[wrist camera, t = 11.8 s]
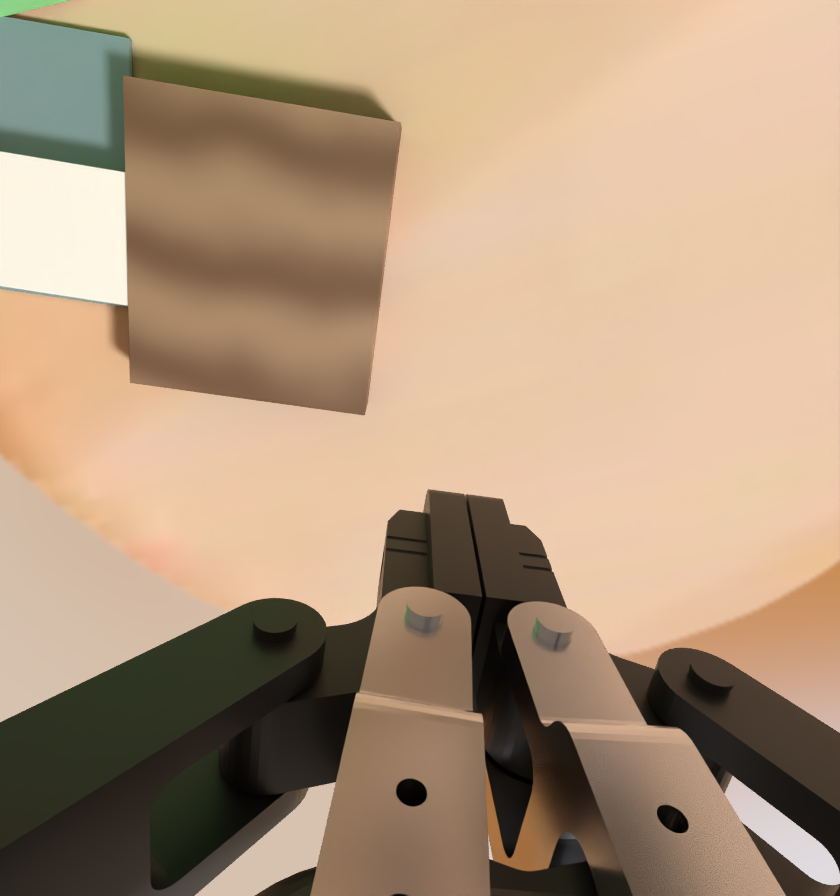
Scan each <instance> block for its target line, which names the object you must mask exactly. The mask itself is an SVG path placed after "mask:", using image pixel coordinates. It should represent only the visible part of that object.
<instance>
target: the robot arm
mask: <svg viewBox="0 0 840 896" xmlns="http://www.w3.org/2000/svg"><path fill="white" fill-rule="evenodd" d="M732 775H733V776H734V777H736V778H737V779H738V780H739V781H741V782H742V783H743V784H745V785H746V786H747V787H748V788H750V789H751V790H753V791H754V792H755V793H756V794H758V795H759V796H761V797H762V798H763V799H764V800H766V801H767V802H768V803H769V804H771V805H772V806H773V807H775V808H776V809H778V810H779V811H780V812H781V813H783V814H784V815H785V816H787V817H788V818H789V819H791V820H792V821H793V822H794V823H796V824H797V825H798V826H800V827H801V828H802V829H804V830H805V831H806V832H807V833H809V834H810V835H812V836H813V837H814V838H816V839H817V840H818V841H819V842H820V843H821V844H822V845H823V846H824V847H825V848H826V849H827V850H828V851H829V852H830V854H831V855H832V857H833V858H834V860H835V861H836V864H837V865H838V868H839V871H840V733H839V732H837V731H836V730H834V729H833V728H831V727H829V726H828V725H826V724H824V723H823V722H821V721H820V720H818V719H817V718H815V717H814V716H812V715H810V714H809V713H807V712H806V711H804V710H802V709H801V708H799V707H798V706H796V705H795V704H793V703H791V702H790V701H788V700H787V699H785V698H784V697H782V696H780V695H779V694H777V693H776V692H774V691H773V690H771V689H769V688H768V687H766V686H765V685H763V684H761V683H760V682H758V681H757V680H755V679H754V678H752V677H750V676H749V675H747V674H746V673H744V672H742V671H741V670H739V669H738V668H736V667H735V666H733V665H732V664H730V663H728V662H726V661H725V660H722V659H721V658H719V657H716V656H714V655H712V654H709V653H706V652H703V651H699V650H695V649H690V648H674V649H669V650H667V651H665V652H664V653H662V654H661V656H660V657H659V659H658V662H657V665H656V668H655V669H652V668H649V667H646V666H643V665H640V664H637V663H634V662H631V661H628V660H625V659H622V658H620V657H617V656H614V655H612V654H610V653H608V652H607V650H606V648H605V646H604V644H603V642H602V640H601V639H600V637H599V635H598V633H597V631H596V630H595V628H594V627H593V626H592V625H591V624H590V623H589V622H588V621H587V620H586V619H585V618H583V617H582V616H580V615H579V614H577V613H576V612H574V611H572V610H570V609H568V608H567V607H566V604H565V602H564V599H563V596H562V594H561V591H560V589H559V586H558V583H557V581H556V578H555V576H554V573H553V572H552V568H551V565H550V562H549V560H548V559H547V555H546V552H545V549H544V547H543V544H542V542H541V540H540V539H539V538H538V537H537V536H536V535H535V534H534V533H533V532H532V531H531V530H529V529H528V528H527V527H526V526H522V525H514V524H510V521H509V518H508V515H507V511H506V508H505V505H504V502H503V500H502V499H498V498H491V497H483V496H475V495H468V494H466V495H464V494H460V493H452V492H444V491H437V490H429V489H428V491H427V495H426V499H425V505H424V511H423V513H421V512H413V511H406V510H399V511H398V512H397V513H396V514H395V515H394V516H393V517H392V518H391V519H390V520H389V521H388V525H387V532H386V538H385V545H384V552H383V559H382V566H381V572H380V579H379V586H378V596H377V607H376V610H375V611H374V612H373V613H371V614H370V615H369V616H367V617H365V618H364V619H362V620H359V621H357V622H353V623H350V624H345V625H338V626H329V627H326V623H325V621H324V619H323V618H322V616H321V615H320V614H319V613H318V612H317V611H316V610H314V609H313V608H311V607H310V606H308V605H306V604H304V603H301V602H298V601H294V600H290V599H283V598H269V599H261V600H256V601H252V602H249V603H247V604H244V605H242V606H240V607H238V608H236V609H234V610H232V611H229V612H227V613H225V614H223V615H221V616H219V617H217V618H215V619H213V620H211V621H209V622H207V623H205V624H203V625H201V626H198V627H196V628H194V629H192V630H190V631H188V632H186V633H184V634H182V635H180V636H178V637H176V638H174V639H172V640H170V641H167V642H166V643H164V644H161V645H159V646H157V647H155V648H153V649H151V650H149V651H147V652H145V653H143V654H141V655H139V656H136V657H134V658H132V659H130V660H128V661H126V662H124V663H122V664H120V665H118V666H116V667H114V668H112V669H110V670H108V671H106V672H103V673H101V674H99V675H97V676H95V677H93V678H91V679H89V680H87V681H85V682H83V683H81V684H79V685H77V686H74V687H72V688H71V689H68V690H66V691H64V692H62V693H60V694H58V695H56V696H54V697H52V698H50V699H48V700H46V701H43V702H42V703H39V704H37V705H35V706H33V707H31V708H29V709H27V710H25V711H23V712H21V713H19V714H17V715H15V716H12V717H10V718H8V719H6V720H4V721H2V722H0V896H194V895H195V894H197V893H198V892H199V891H200V890H201V889H203V888H204V887H205V886H206V885H207V884H208V883H210V882H211V881H212V880H213V879H214V878H215V877H216V876H217V875H219V874H220V873H221V872H222V871H223V870H225V869H226V868H227V867H228V866H229V865H230V864H232V862H234V861H235V860H236V859H237V858H238V857H239V856H241V855H242V854H243V853H244V852H245V851H246V850H248V849H249V848H250V847H251V846H252V845H254V844H255V843H256V842H257V841H258V840H259V839H260V838H262V837H263V836H264V835H265V834H266V833H267V832H268V831H270V830H271V829H272V828H273V827H274V826H276V825H277V824H278V823H279V822H280V821H281V820H282V819H283V818H285V817H286V816H287V815H288V814H289V813H291V812H292V811H293V810H294V809H295V808H296V807H297V806H298V805H299V804H300V803H301V801H302V800H303V799H304V797H305V795H306V793H307V791H308V788H309V787H314V786H319V785H324V784H329V783H333V782H336V784H335V788H334V793H333V797H332V802H331V807H330V811H329V815H328V819H327V824H326V828H325V833H324V837H323V842H322V846H321V850H320V855H319V860H318V864H317V867H314V868H311V869H308V870H304V871H301V872H299V873H296V874H294V875H292V876H290V877H288V878H285V879H283V880H281V881H279V882H277V883H275V884H273V885H271V886H270V887H268V888H266V889H265V890H263V891H262V892H260V893H258V894H257V895H255V896H840V884H838V885H826V884H822V883H820V882H817V881H815V880H814V879H812V878H810V877H809V876H808V875H806V874H805V873H804V872H803V871H801V870H800V869H799V868H798V867H796V866H795V865H794V864H793V863H791V862H790V861H789V860H788V859H786V858H785V857H784V856H783V855H781V854H780V853H779V852H778V851H777V850H775V849H774V848H773V847H772V846H770V845H769V844H767V842H765V841H764V840H763V839H762V838H760V837H759V836H758V835H757V834H756V833H754V832H753V831H752V830H751V829H749V828H748V827H747V826H746V825H744V824H743V823H742V822H741V821H740V819H739V817H738V816H737V814H736V813H735V811H734V809H733V807H732V806H731V804H730V803H729V801H728V799H727V798H726V796H725V794H724V793H725V791H726V789H727V787H728V784H729V782H730V780H731V778H732ZM488 836H489V841H490V846H491V851H492V856H493V860H490V859H489V847H488Z"/></svg>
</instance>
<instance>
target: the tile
mask: <svg viewBox="0 0 840 896" xmlns="http://www.w3.org/2000/svg"><path fill="white" fill-rule="evenodd" d="M0 286H3V287H10V288H16V289H23V290H29V291H36V292H42V293H49V294H55V295H62V296H68V297H75V298H81V299H88V300H94V301H101V302H107V303H114V304H120V305H127V306H128V270H127V226H126V181H125V172H123V171H117V170H111V169H105V168H99V167H93V166H87V165H81V164H75V163H69V162H63V161H57V160H52V159H46V158H40V157H34V156H28V155H22V154H16V153H10V152H4V151H0Z"/></svg>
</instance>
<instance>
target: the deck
mask: <svg viewBox="0 0 840 896" xmlns="http://www.w3.org/2000/svg"><path fill="white" fill-rule="evenodd" d="M123 91H124V136H125V181H126V226H127V270H128V315H129V360H130V383H136V384H143V385H150V386H157V387H165V388H172V389H179V390H186V391H193V392H201V393H208V394H215V395H222V396H229V397H236V398H244V399H251V400H258V401H265V402H272V403H280V404H287V405H294V406H301V407H308V408H316V409H323V410H330V411H337V412H344V413H352V414H359V415H365V411H366V407H367V403H368V395H369V387H370V379H371V371H372V363H373V355H374V347H375V339H376V331H377V323H378V314H379V306H380V298H381V290H382V282H383V274H384V266H385V258H386V250H387V242H388V234H389V225H390V217H391V209H392V201H393V193H394V185H395V177H396V169H397V161H398V153H399V145H400V137H401V122H396V121H390V120H384V119H378V118H372V117H366V116H360V115H354V114H348V113H342V112H336V111H331V110H325V109H319V108H313V107H307V106H301V105H295V104H289V103H283V102H277V101H271V100H265V99H260V98H254V97H248V96H242V95H236V94H230V93H224V92H218V91H212V90H206V89H200V88H194V87H189V86H183V85H177V84H171V83H165V82H159V81H153V80H147V79H141V78H135V77H129V76H123Z"/></svg>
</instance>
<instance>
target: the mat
mask: <svg viewBox="0 0 840 896" xmlns="http://www.w3.org/2000/svg"><path fill="white" fill-rule="evenodd" d="M123 76H129V77H132V40H131V39H129V38H126V37H120V36H114V35H109V34H103V33H97V32H91V31H85V30H80V29H74V28H68V27H62V26H56V25H51V24H45V23H39V22H33V21H27V20H22V19H16V18H10V17H0V151H4V152H10V153H16V154H22V155H28V156H34V157H40V158H46V159H52V160H57V161H63V162H69V163H75V164H81V165H87V166H93V167H99V168H105V169H111V170H117V171H123V172H125V136H124V91H123ZM0 289H5V290H12V291H19V292H26V293H33V294H40V295H46V296H53V297H60V298H67V299H74V300H81V301H87V302H94V303H101V304H108V305H115V306H122V307H128V306H127V305H120V304H114V303H107V302H101V301H94V300H88V299H81V298H75V297H68V296H62V295H55V294H49V293H42V292H36V291H29V290H23V289H16V288H10V287H3V286H0Z"/></svg>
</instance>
